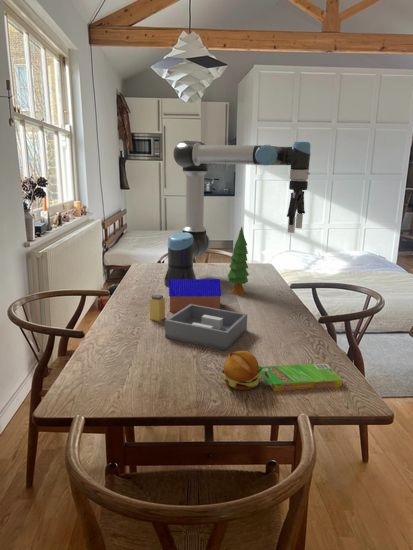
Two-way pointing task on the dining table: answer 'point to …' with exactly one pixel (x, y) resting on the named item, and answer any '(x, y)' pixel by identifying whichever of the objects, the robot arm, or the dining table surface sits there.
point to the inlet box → (206, 326)
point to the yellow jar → (157, 307)
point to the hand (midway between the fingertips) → (294, 230)
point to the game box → (300, 376)
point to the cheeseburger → (241, 370)
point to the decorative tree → (239, 265)
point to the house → (194, 293)
